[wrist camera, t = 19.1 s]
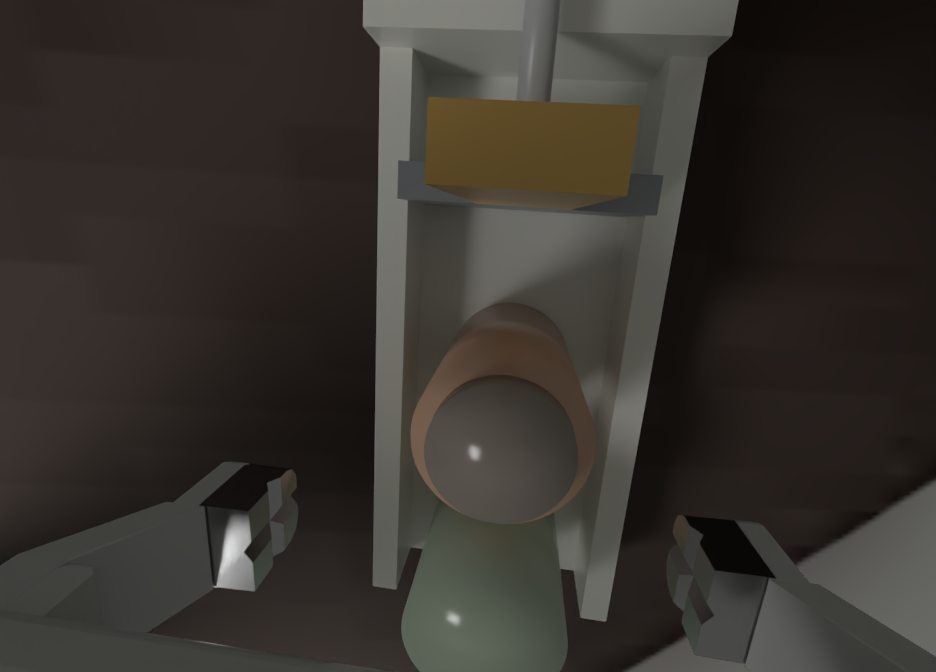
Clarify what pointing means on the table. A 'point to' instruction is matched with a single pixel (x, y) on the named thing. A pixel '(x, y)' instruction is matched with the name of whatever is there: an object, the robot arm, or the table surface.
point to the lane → (530, 242)
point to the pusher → (532, 145)
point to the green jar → (486, 597)
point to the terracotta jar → (504, 420)
